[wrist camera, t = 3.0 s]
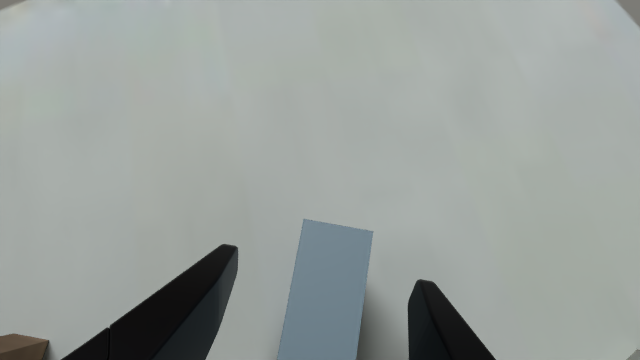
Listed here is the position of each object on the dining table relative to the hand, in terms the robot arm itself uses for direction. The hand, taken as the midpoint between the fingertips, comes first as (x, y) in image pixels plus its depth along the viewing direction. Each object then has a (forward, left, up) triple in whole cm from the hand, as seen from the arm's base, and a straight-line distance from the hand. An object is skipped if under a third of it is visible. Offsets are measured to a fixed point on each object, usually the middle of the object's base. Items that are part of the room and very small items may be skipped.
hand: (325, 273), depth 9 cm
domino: (-1, 0, -7) cm, 7 cm away
